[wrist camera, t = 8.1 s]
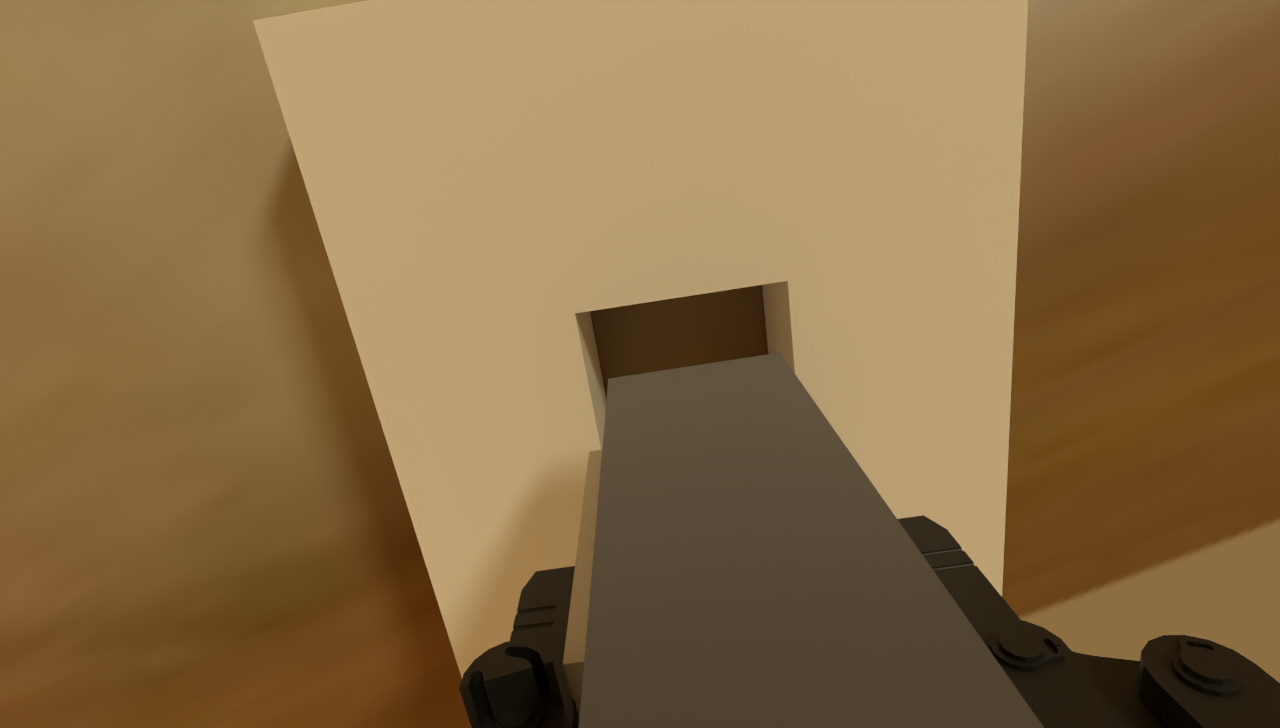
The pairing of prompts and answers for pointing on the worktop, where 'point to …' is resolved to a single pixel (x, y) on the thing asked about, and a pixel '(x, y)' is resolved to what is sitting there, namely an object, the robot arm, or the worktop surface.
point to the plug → (764, 573)
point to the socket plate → (660, 238)
